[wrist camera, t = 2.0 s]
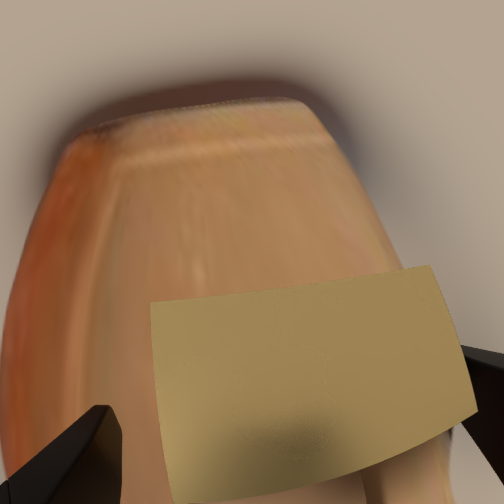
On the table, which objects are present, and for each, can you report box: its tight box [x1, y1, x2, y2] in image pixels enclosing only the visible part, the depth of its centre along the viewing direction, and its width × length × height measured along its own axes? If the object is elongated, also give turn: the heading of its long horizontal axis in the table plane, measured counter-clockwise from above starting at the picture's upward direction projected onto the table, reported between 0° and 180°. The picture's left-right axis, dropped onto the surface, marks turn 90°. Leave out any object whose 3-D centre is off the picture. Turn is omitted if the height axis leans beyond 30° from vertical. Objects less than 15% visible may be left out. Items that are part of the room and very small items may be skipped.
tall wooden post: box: [150, 265, 478, 504], centre depth 8 cm, size 3×5×10 cm
